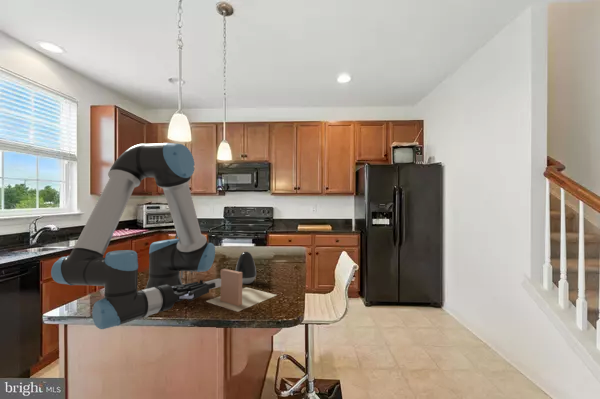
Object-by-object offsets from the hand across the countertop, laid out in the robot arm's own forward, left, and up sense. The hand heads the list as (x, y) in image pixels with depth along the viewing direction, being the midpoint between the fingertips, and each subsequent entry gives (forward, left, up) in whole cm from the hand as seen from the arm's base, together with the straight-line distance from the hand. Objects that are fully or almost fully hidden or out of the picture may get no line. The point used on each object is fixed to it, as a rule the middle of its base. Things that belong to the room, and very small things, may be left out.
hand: (219, 282), depth 103 cm
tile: (-2, +5, -9) cm, 11 cm away
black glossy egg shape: (-26, +22, -10) cm, 36 cm away
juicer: (-58, -2, -10) cm, 59 cm away
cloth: (-4, +11, -10) cm, 15 cm away
